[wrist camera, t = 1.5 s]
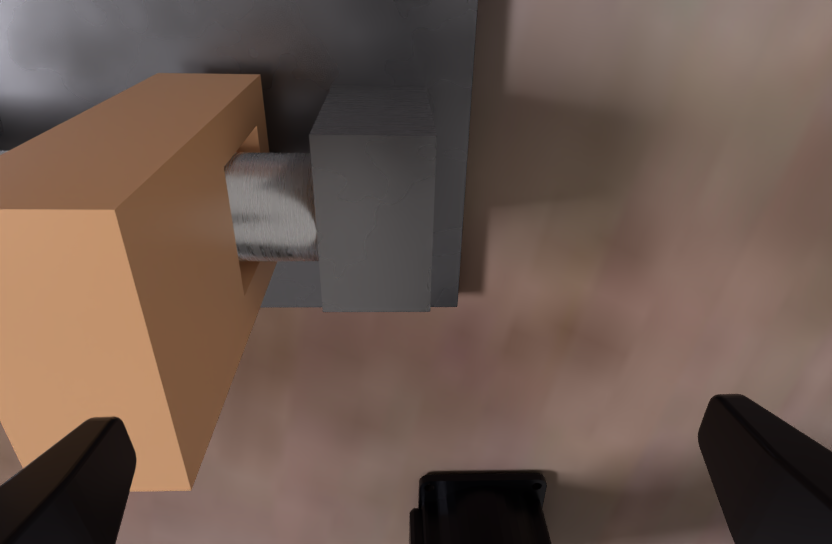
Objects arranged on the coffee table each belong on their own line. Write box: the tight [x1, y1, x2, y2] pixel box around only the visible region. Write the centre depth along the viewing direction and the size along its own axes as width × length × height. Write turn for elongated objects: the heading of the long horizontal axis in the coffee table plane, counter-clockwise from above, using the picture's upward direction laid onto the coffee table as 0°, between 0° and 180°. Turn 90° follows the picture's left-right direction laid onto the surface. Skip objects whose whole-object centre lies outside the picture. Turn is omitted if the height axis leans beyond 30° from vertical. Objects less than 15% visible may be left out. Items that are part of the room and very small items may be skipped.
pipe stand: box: [0, 0, 478, 312], centre depth 17 cm, size 26×12×7 cm, turn 89°
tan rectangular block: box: [0, 73, 277, 491], centre depth 14 cm, size 3×6×10 cm, turn 179°
